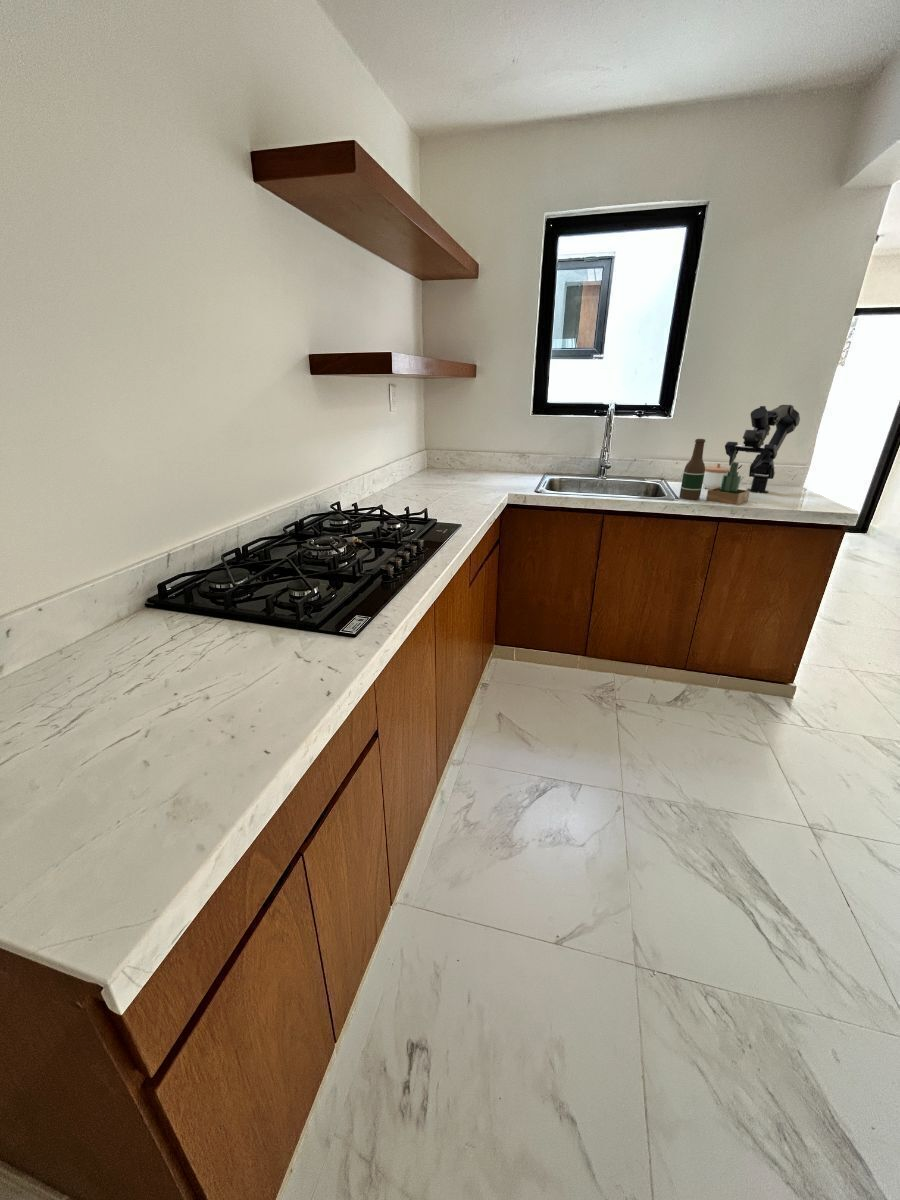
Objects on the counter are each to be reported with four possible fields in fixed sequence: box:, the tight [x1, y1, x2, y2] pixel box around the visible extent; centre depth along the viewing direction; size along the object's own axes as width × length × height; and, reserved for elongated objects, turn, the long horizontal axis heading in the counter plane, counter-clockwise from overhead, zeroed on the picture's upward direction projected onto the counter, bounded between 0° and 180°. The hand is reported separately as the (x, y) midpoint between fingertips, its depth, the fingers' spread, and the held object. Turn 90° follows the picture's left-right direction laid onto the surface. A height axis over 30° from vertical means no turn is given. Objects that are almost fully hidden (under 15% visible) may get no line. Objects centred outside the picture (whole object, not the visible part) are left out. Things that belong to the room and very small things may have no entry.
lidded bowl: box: [702, 463, 730, 490], centre depth 229 cm, size 13×13×11 cm
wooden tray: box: [705, 487, 751, 506], centre depth 203 cm, size 12×12×4 cm
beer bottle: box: [679, 438, 706, 501], centre depth 203 cm, size 8×8×24 cm
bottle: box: [720, 461, 742, 494], centre depth 200 cm, size 6×6×15 cm
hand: (741, 466), depth 203 cm, fingers open, 9 cm apart
